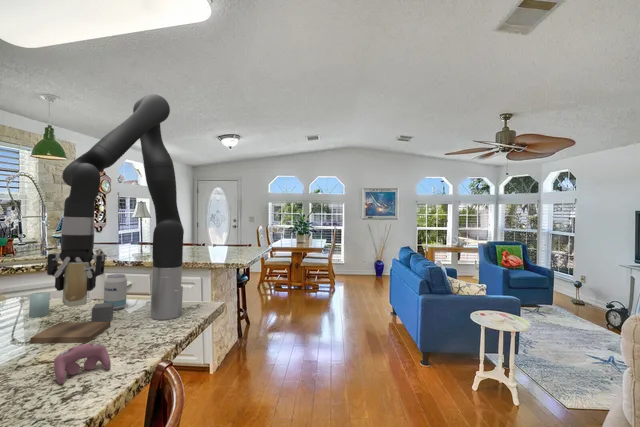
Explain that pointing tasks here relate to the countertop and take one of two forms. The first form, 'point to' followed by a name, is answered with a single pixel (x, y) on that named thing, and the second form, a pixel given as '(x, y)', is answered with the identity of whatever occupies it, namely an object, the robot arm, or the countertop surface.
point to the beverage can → (115, 290)
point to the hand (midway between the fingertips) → (75, 290)
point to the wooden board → (71, 332)
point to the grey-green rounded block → (39, 304)
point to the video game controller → (89, 351)
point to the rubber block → (102, 312)
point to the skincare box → (75, 284)
